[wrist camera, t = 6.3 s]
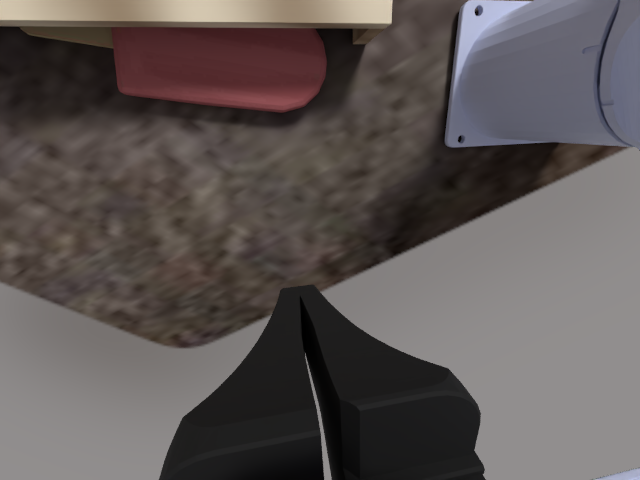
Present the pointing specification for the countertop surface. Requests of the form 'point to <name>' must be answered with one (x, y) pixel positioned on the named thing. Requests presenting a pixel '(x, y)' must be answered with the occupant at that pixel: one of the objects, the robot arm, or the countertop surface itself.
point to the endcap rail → (203, 14)
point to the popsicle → (210, 63)
